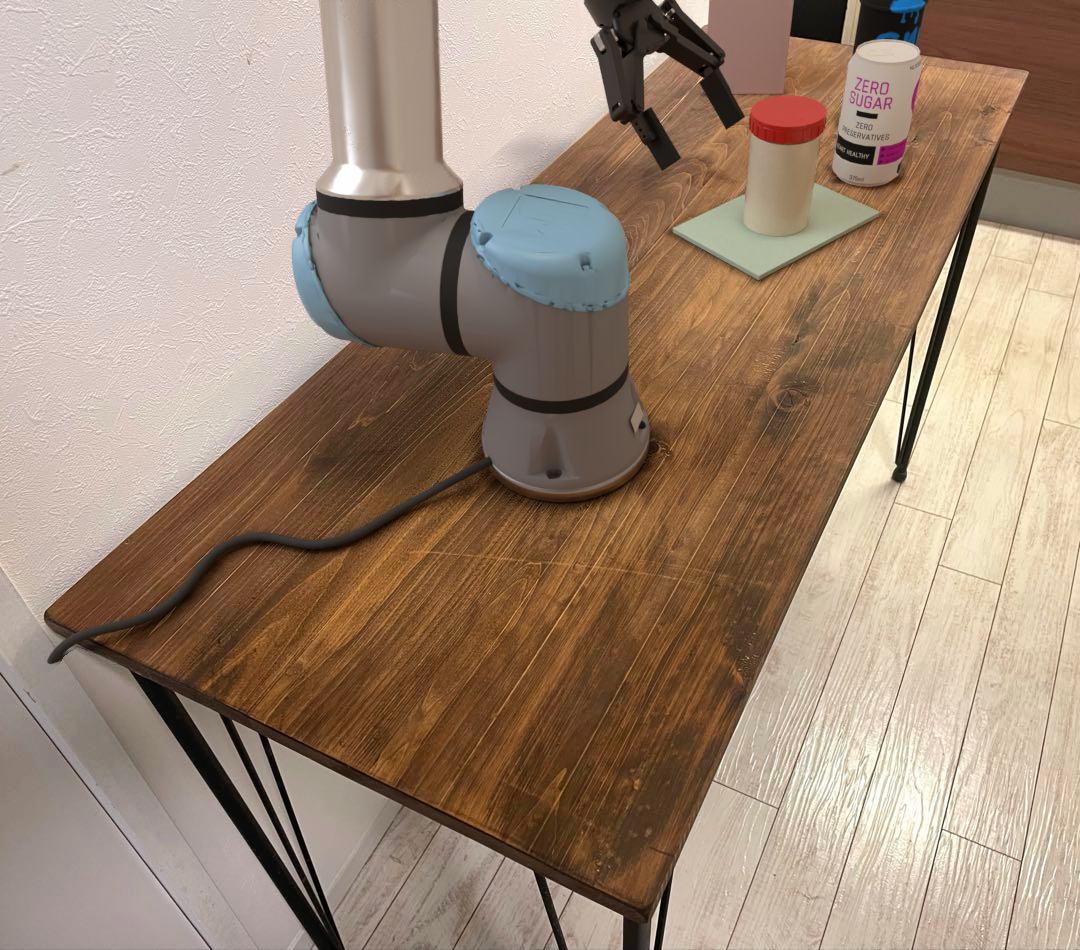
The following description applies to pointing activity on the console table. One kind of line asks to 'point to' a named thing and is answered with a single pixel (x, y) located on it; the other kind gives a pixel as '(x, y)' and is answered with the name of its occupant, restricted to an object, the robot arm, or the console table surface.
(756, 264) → the mat
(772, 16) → the greeting card
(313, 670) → the console table surface
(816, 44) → the console table surface
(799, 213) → the jar
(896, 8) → the aerosol can
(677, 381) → the console table surface
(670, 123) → the console table surface
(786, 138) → the lid
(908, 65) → the white soda can
